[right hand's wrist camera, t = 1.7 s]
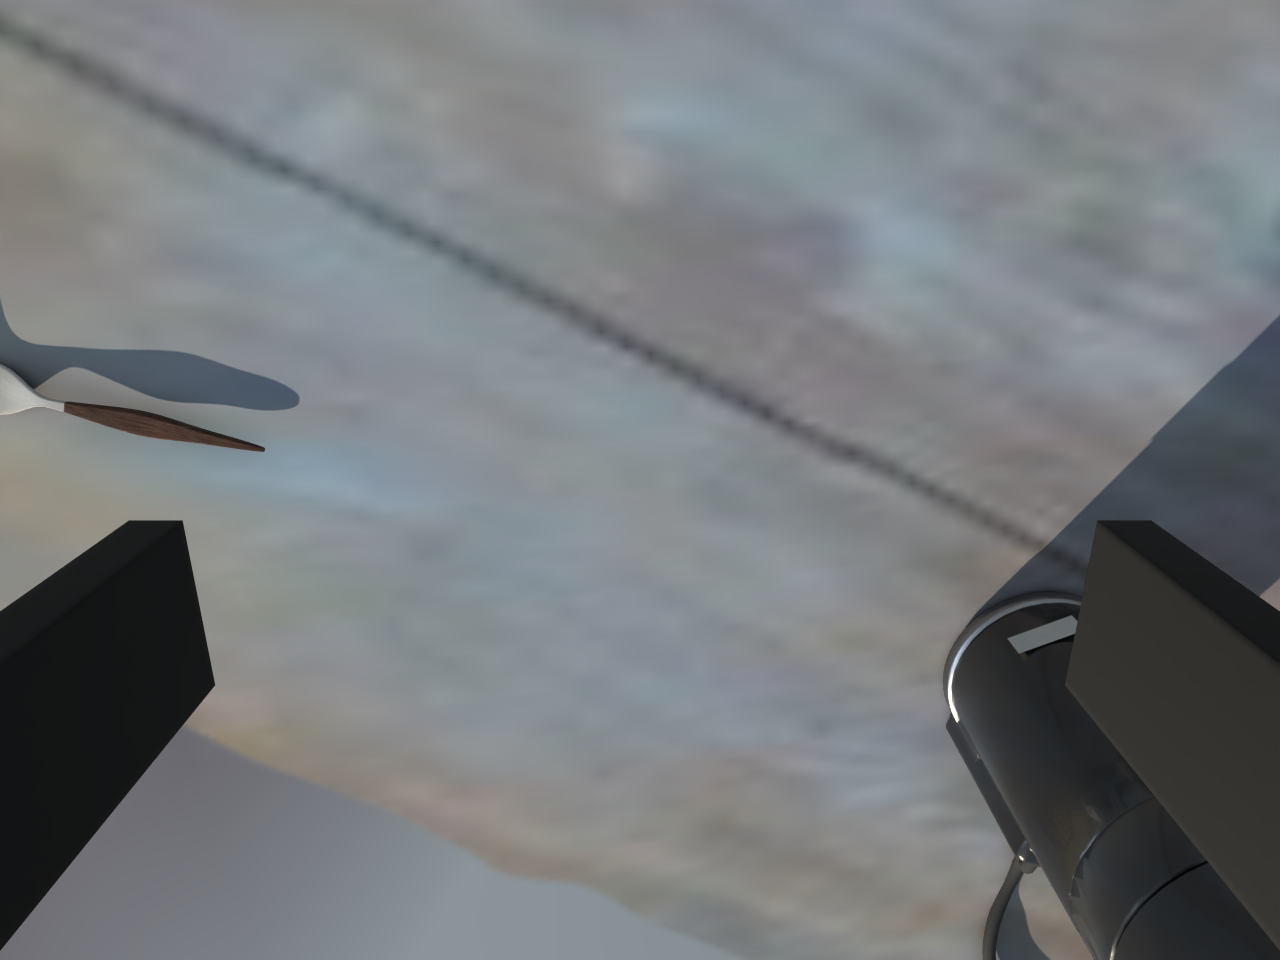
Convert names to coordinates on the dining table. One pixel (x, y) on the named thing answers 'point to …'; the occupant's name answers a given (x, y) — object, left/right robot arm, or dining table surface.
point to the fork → (111, 416)
